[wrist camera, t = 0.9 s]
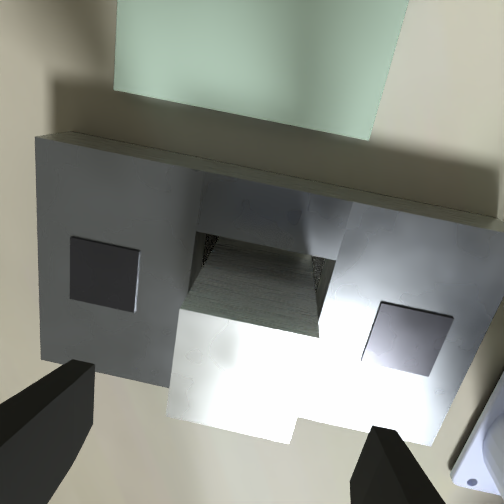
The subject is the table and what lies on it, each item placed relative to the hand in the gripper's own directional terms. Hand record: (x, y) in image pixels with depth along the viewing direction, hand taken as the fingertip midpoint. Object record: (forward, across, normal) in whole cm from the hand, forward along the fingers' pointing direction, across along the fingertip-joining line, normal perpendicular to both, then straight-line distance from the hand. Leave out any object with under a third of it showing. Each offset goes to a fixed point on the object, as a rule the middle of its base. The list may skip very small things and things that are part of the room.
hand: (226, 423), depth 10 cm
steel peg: (+9, 0, 0) cm, 9 cm away
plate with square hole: (+9, 0, 0) cm, 9 cm away
